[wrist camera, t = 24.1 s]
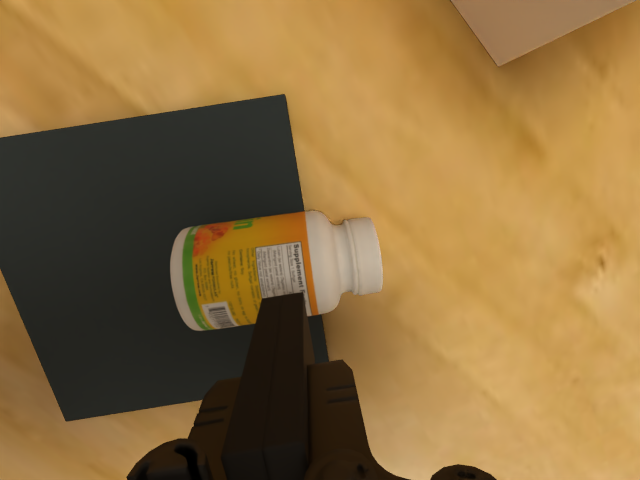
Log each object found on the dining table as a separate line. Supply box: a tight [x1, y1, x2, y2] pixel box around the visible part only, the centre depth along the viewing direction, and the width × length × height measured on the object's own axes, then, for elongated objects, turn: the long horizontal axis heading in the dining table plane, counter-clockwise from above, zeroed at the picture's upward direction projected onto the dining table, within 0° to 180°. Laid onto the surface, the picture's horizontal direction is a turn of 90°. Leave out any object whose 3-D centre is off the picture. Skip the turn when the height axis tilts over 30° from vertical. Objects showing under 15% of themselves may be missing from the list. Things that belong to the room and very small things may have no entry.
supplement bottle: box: [170, 211, 383, 331], centre depth 18 cm, size 5×5×10 cm
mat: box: [0, 94, 329, 421], centre depth 21 cm, size 18×18×1 cm
